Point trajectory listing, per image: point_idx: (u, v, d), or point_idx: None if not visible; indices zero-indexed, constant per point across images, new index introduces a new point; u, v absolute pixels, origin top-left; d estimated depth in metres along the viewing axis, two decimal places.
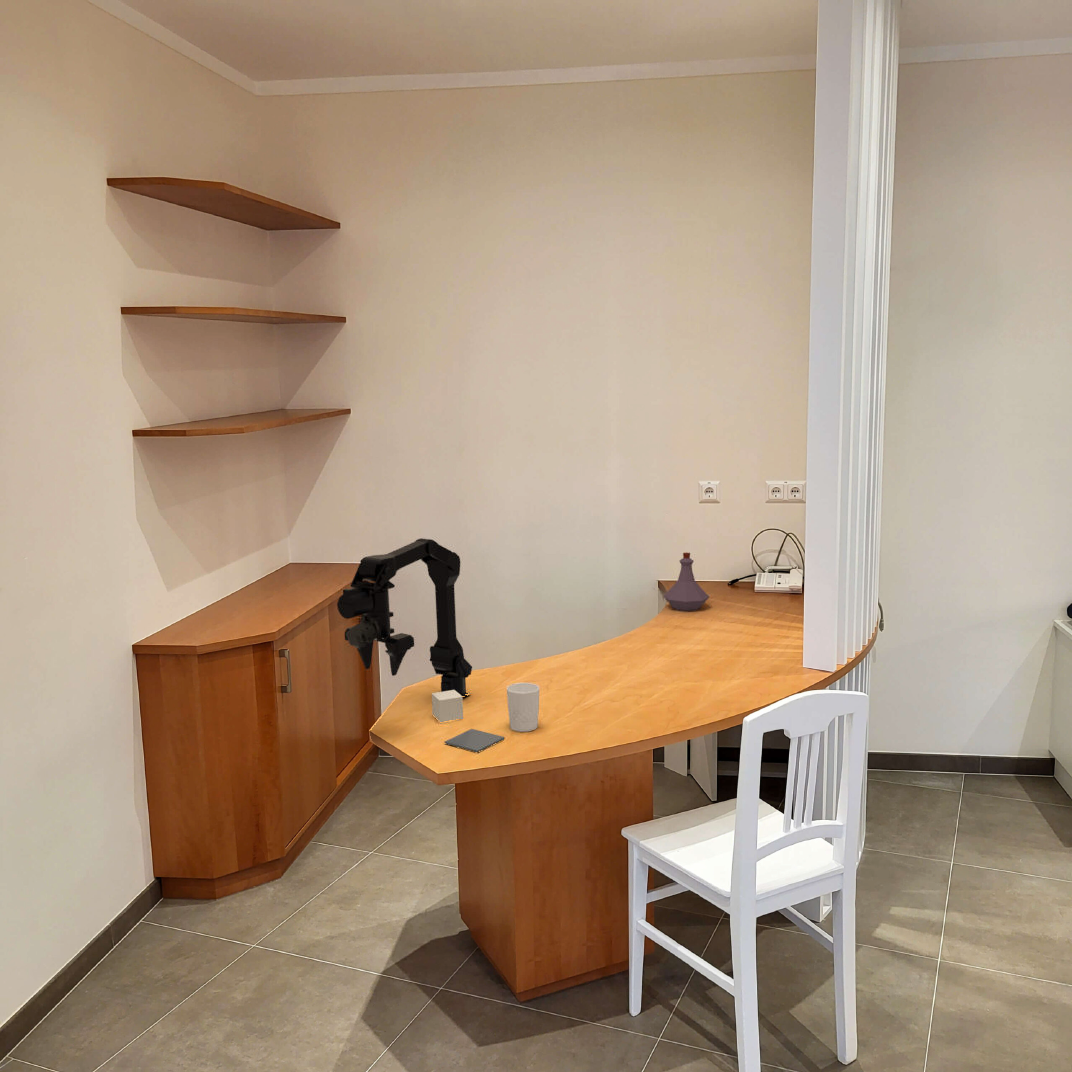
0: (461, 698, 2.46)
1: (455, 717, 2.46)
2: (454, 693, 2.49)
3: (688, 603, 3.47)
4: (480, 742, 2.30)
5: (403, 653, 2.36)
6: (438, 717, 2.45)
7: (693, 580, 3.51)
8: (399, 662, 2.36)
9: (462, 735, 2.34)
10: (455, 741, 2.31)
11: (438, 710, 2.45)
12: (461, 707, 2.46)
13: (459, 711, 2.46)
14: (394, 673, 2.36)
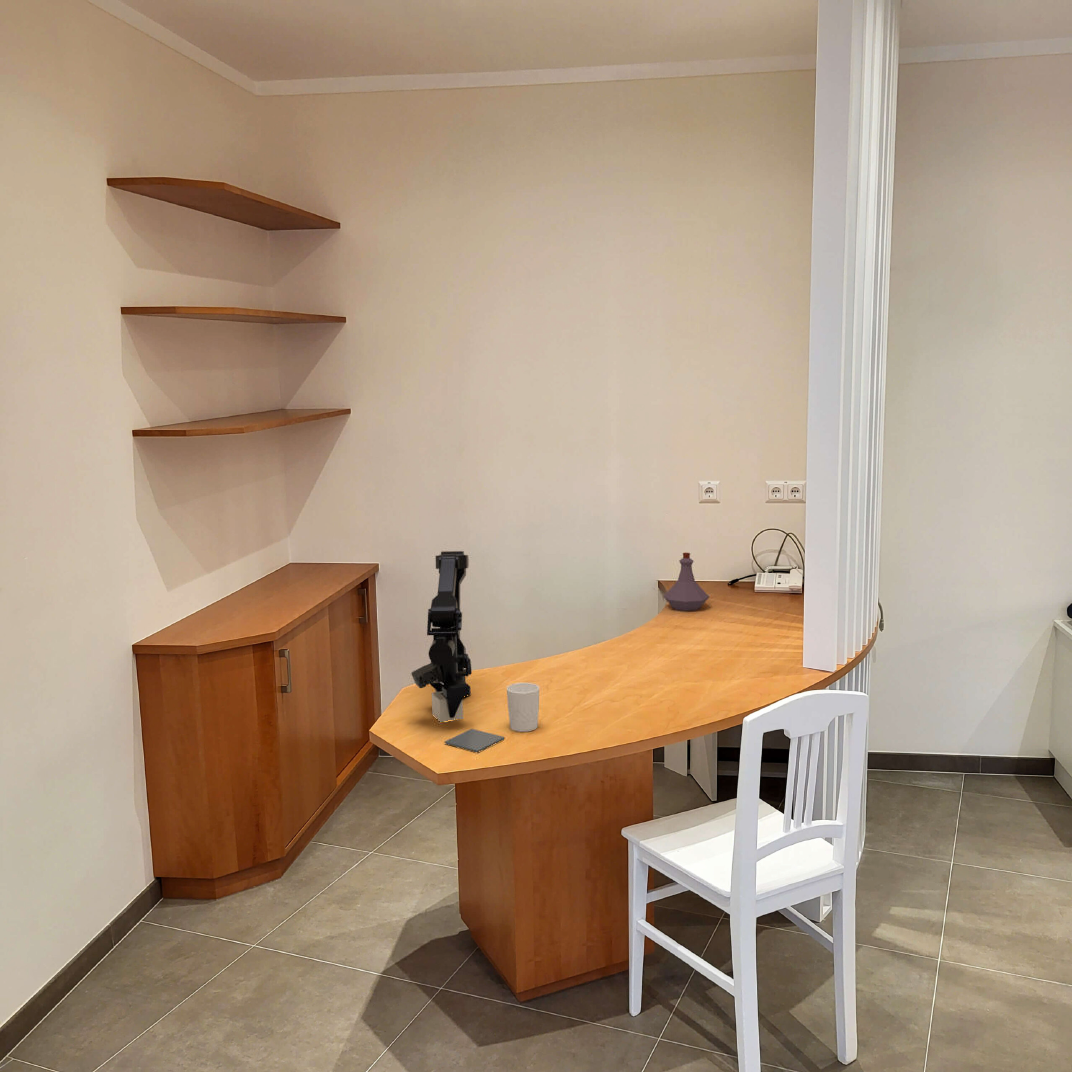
0: None
1: (455, 717, 2.46)
2: None
3: (688, 603, 3.47)
4: (480, 742, 2.30)
5: (460, 698, 2.43)
6: (438, 717, 2.45)
7: (693, 580, 3.51)
8: (456, 706, 2.44)
9: (462, 735, 2.34)
10: (455, 741, 2.31)
11: (438, 710, 2.45)
12: (461, 707, 2.46)
13: (459, 710, 2.46)
14: (451, 715, 2.45)
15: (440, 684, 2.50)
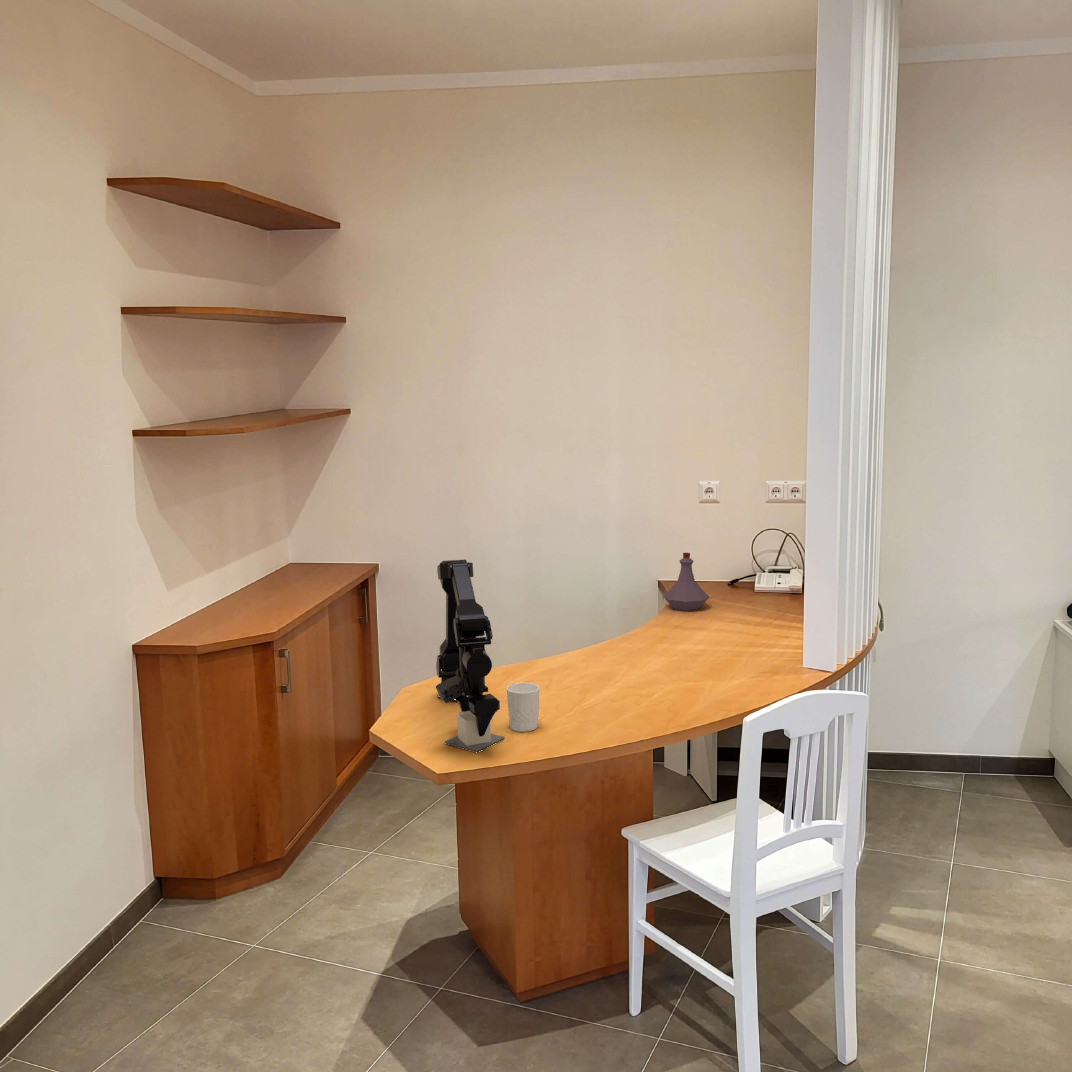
0: None
1: (482, 739, 2.29)
2: None
3: (688, 603, 3.47)
4: None
5: (490, 715, 2.25)
6: (464, 739, 2.29)
7: (693, 580, 3.51)
8: (486, 723, 2.26)
9: None
10: (455, 741, 2.31)
11: (464, 731, 2.28)
12: (489, 728, 2.29)
13: (487, 732, 2.29)
14: (481, 734, 2.27)
15: (464, 696, 2.35)
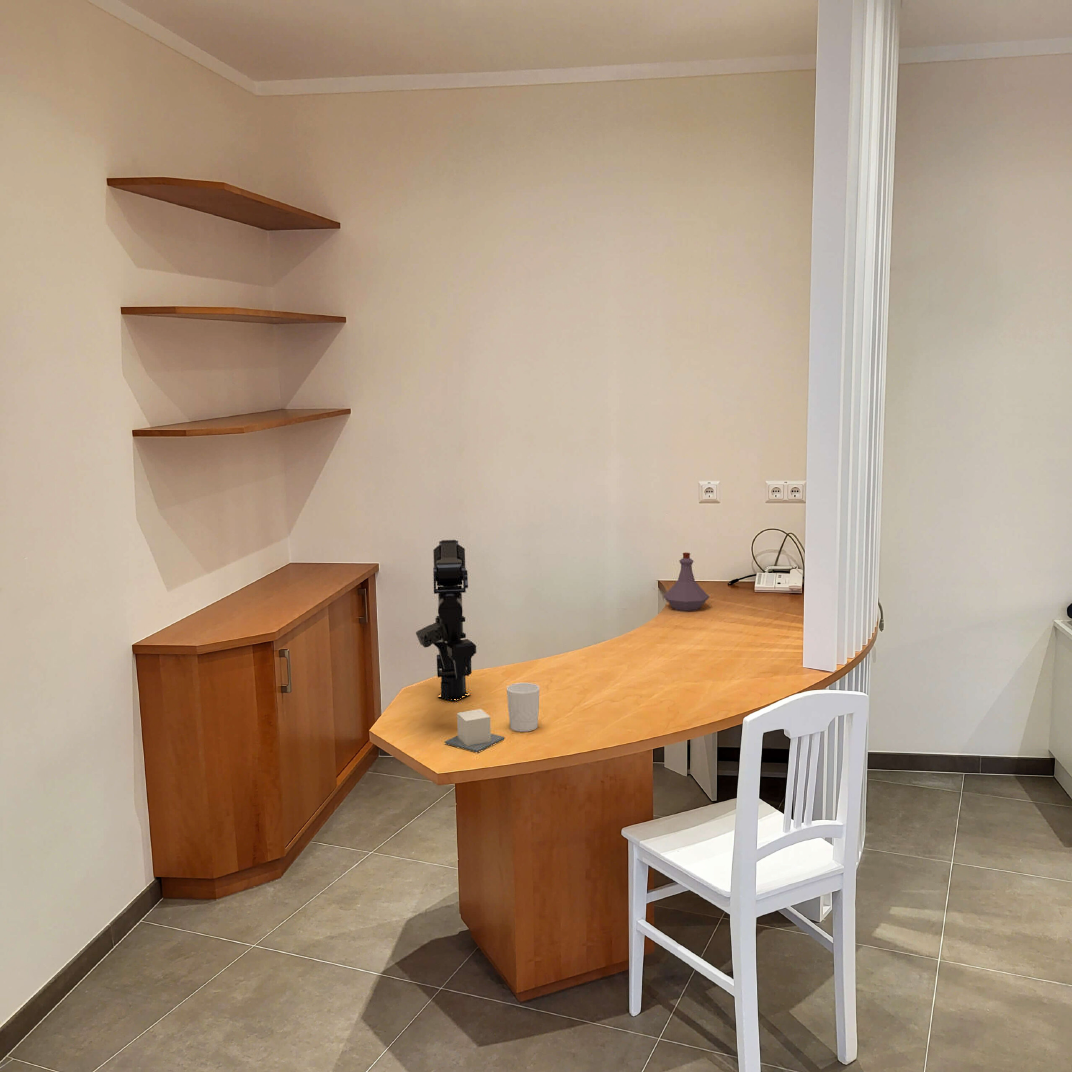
0: (489, 718, 2.29)
1: (482, 739, 2.29)
2: (481, 712, 2.32)
3: (688, 603, 3.47)
4: None
5: (467, 659, 2.38)
6: (464, 739, 2.29)
7: (693, 580, 3.51)
8: (463, 667, 2.38)
9: None
10: (455, 741, 2.31)
11: (464, 731, 2.28)
12: (489, 728, 2.29)
13: (487, 732, 2.29)
14: (458, 677, 2.39)
15: (443, 643, 2.47)
